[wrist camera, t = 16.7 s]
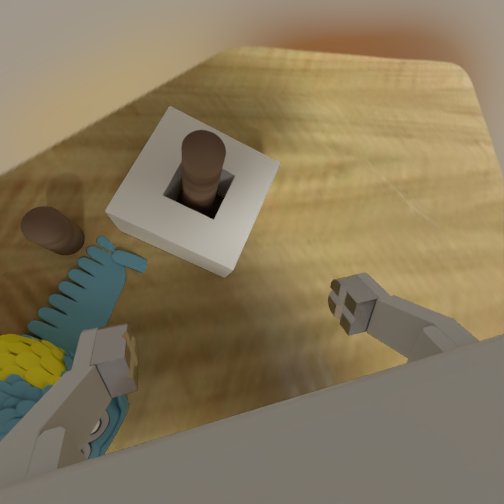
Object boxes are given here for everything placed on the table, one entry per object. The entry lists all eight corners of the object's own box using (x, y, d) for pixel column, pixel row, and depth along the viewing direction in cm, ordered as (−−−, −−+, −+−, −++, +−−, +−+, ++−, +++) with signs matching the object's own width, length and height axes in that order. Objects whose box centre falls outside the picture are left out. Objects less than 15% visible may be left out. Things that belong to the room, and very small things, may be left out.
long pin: (210, 223, 32) (223, 173, 21) (181, 218, 32) (178, 165, 20) (213, 196, 33) (228, 134, 22) (185, 191, 32) (184, 125, 21)
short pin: (73, 260, 29) (50, 249, 24) (41, 246, 28) (12, 233, 23) (90, 232, 29) (72, 216, 25) (60, 218, 29) (35, 200, 24)
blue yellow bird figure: (32, 180, 22) (207, 282, 23) (73, 216, 30) (200, 289, 32) (-375, 634, 14) (-63, 739, 15) (-166, 512, 22) (22, 589, 24)
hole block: (224, 278, 31) (233, 270, 26) (119, 230, 30) (104, 211, 24) (265, 187, 35) (280, 163, 29) (172, 141, 33) (169, 105, 28)
